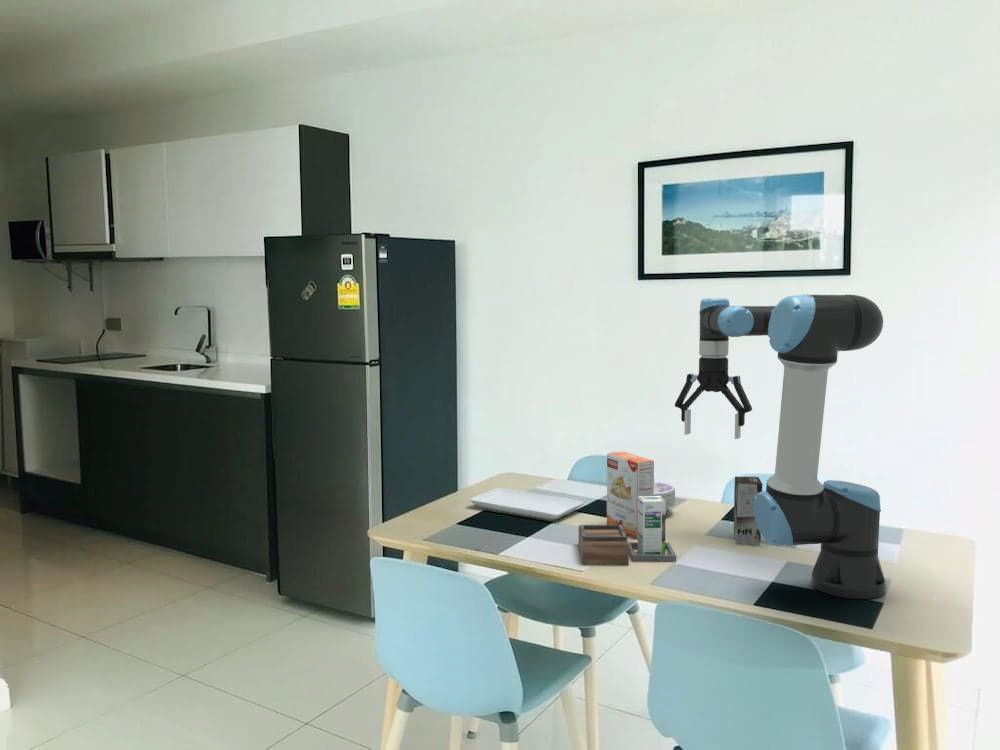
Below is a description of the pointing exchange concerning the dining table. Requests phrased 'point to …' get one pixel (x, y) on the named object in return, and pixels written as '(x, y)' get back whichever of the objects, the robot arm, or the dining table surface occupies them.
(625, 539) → the raised socket stand
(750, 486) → the coffee box
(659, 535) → the syrup box
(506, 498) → the tray
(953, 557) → the dining table surface
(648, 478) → the cracker box
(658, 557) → the low socket
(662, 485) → the paper bowls
